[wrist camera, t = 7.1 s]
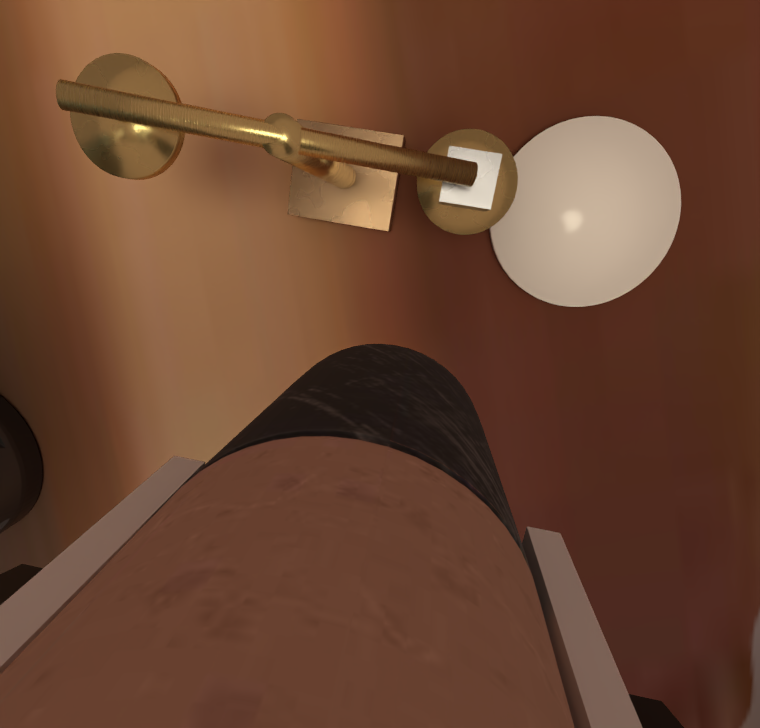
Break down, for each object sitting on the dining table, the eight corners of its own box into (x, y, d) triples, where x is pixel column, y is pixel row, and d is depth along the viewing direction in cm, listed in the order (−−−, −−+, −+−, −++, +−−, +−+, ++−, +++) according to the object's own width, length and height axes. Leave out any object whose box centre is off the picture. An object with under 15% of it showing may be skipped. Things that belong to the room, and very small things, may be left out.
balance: (206, 200, 36) (-8, 169, 18) (211, 110, 34) (-18, -16, 17) (484, 247, 35) (535, 260, 17) (503, 156, 33) (581, 70, 16)
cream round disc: (472, 288, 35) (473, 290, 34) (510, 107, 32) (513, 102, 31) (641, 317, 35) (648, 320, 34) (697, 135, 31) (707, 131, 30)
